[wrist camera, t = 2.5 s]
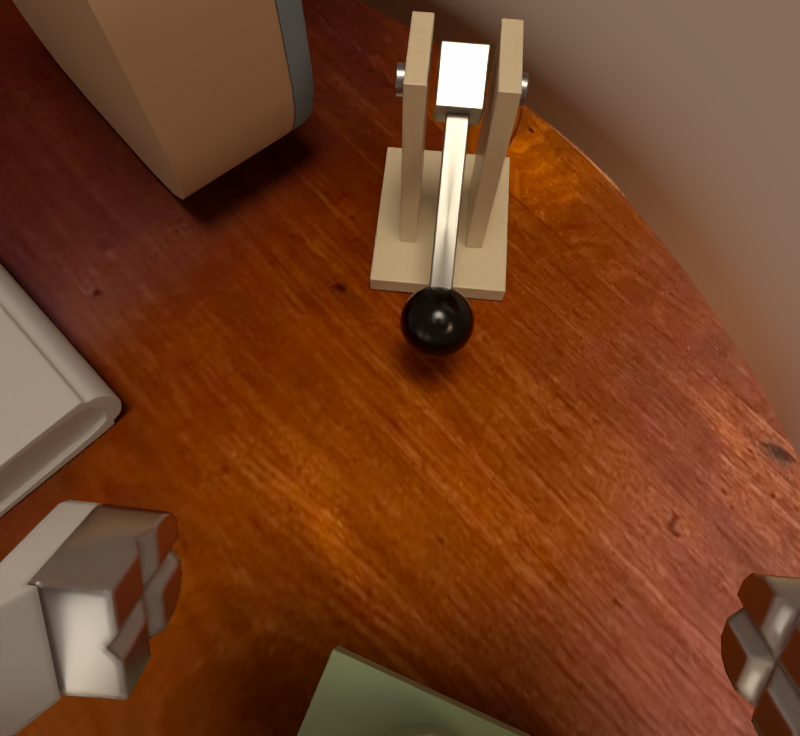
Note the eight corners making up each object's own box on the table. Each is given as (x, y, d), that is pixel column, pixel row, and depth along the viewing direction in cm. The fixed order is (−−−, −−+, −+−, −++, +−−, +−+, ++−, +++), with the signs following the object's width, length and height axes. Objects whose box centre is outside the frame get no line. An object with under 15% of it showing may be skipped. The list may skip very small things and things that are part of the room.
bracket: (501, 301, 35) (558, 148, 23) (370, 289, 35) (359, 131, 23) (506, 169, 39) (557, -21, 27) (387, 159, 39) (385, -34, 27)
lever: (467, 357, 30) (472, 366, 27) (398, 350, 30) (395, 359, 27) (497, 70, 28) (508, 39, 25) (424, 64, 28) (424, 32, 25)
